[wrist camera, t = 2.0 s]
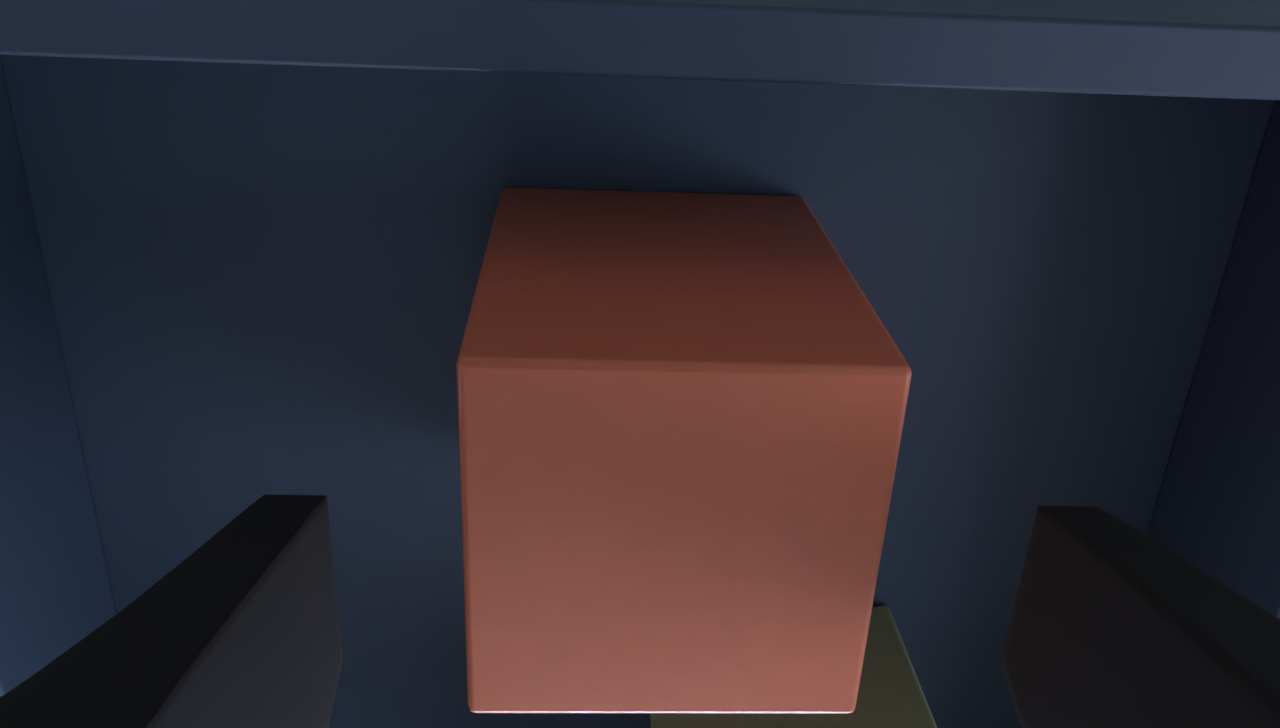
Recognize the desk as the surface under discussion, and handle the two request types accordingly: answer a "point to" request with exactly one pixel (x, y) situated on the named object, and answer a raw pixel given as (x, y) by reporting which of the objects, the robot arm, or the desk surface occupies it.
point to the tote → (622, 161)
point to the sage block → (886, 703)
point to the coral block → (671, 457)
